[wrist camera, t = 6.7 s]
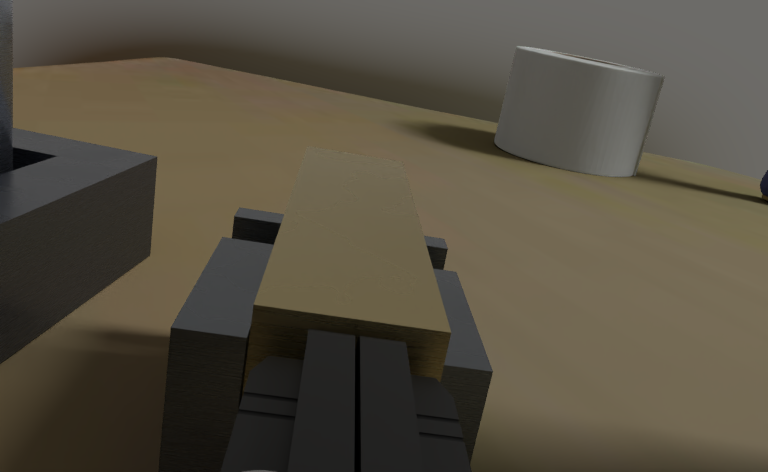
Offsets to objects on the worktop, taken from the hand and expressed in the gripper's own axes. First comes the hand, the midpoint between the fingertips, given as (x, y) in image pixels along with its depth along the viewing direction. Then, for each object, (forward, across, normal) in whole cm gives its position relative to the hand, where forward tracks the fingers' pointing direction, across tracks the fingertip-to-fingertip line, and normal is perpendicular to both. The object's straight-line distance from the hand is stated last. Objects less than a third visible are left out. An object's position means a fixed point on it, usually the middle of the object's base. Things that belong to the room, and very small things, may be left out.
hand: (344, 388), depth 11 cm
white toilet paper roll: (+66, -24, +7) cm, 70 cm away
